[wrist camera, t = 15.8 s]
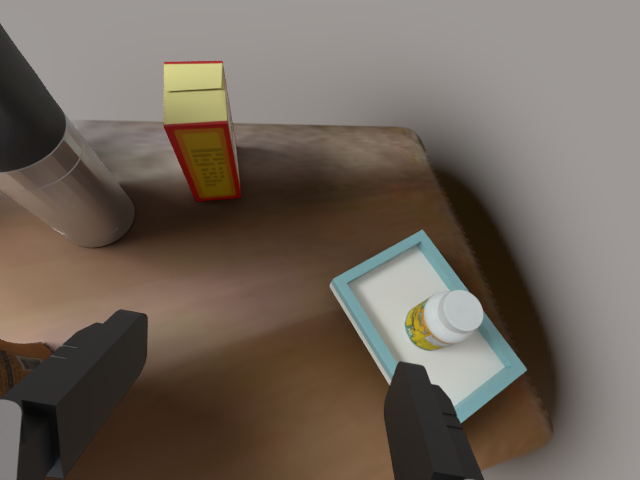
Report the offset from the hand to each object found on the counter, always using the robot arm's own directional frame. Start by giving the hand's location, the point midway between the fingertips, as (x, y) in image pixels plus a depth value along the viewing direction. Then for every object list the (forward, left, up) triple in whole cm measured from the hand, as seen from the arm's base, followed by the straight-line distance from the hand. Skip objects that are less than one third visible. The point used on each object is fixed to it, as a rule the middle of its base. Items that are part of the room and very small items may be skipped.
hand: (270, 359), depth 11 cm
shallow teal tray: (+4, +18, -34) cm, 38 cm away
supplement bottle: (+4, +18, -29) cm, 34 cm away
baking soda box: (-31, +6, -34) cm, 46 cm away
